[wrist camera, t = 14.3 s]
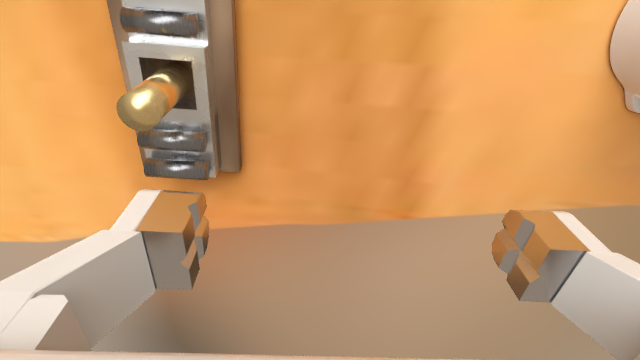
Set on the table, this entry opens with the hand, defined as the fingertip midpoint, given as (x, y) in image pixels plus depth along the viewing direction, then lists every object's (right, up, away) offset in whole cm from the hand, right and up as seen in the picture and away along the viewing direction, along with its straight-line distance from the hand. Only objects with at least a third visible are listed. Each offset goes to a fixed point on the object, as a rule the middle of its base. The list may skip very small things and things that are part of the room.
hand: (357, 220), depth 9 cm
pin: (-15, +12, +25) cm, 31 cm away
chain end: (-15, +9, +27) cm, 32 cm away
